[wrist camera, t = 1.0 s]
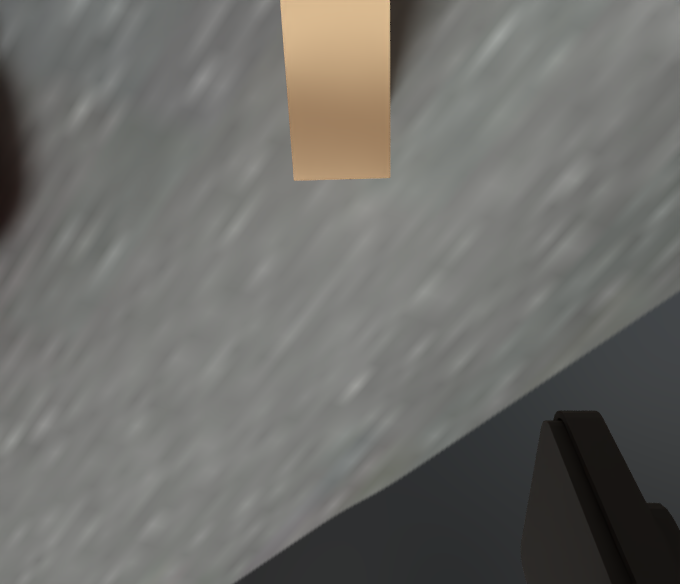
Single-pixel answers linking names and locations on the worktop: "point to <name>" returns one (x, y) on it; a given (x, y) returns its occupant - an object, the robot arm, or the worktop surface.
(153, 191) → the worktop surface
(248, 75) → the worktop surface
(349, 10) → the oak plate
